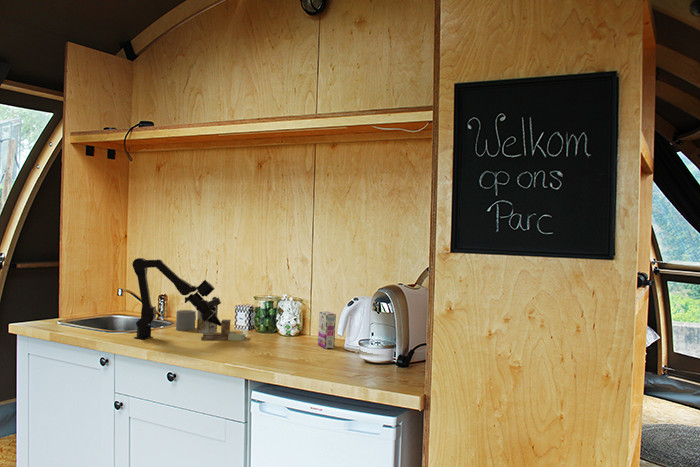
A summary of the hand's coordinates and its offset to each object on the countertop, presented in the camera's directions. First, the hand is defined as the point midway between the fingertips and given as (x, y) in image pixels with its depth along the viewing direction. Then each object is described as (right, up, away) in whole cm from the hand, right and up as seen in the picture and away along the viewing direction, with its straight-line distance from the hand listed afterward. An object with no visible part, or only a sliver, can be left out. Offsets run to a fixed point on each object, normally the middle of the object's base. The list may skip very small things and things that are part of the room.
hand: (221, 325), depth 265 cm
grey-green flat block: (+8, -7, +1) cm, 10 cm away
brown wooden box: (+2, -7, 0) cm, 7 cm away
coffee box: (-12, -7, +17) cm, 22 cm away
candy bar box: (+53, -8, -12) cm, 55 cm away
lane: (-2, -7, -1) cm, 7 cm away
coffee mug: (-24, -7, +25) cm, 35 cm away
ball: (+8, -5, +1) cm, 10 cm away
